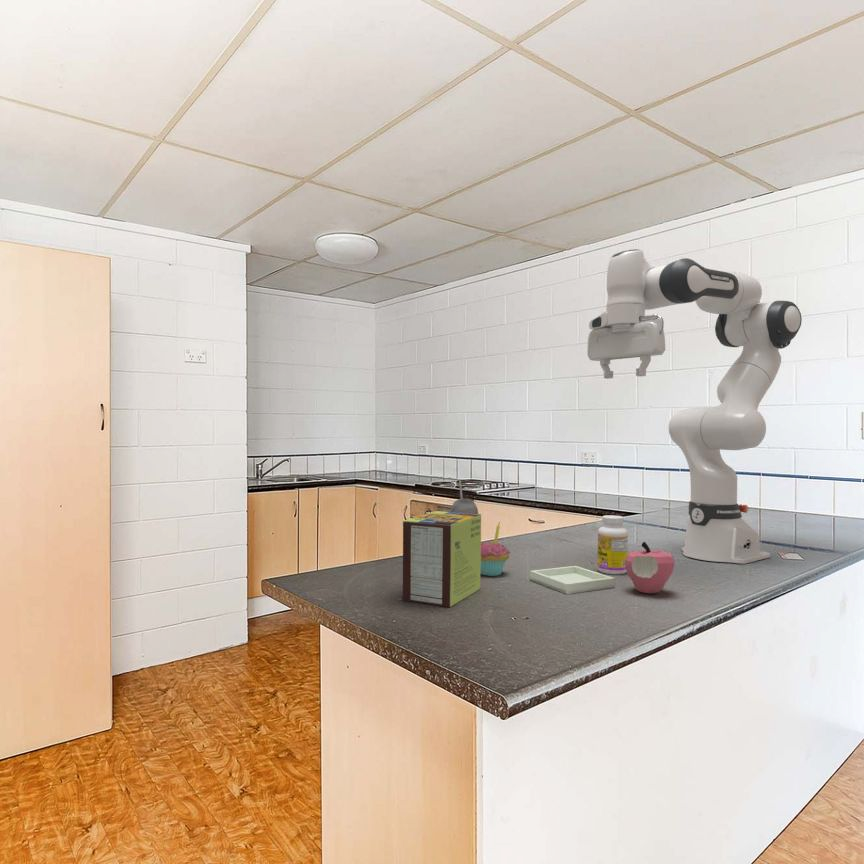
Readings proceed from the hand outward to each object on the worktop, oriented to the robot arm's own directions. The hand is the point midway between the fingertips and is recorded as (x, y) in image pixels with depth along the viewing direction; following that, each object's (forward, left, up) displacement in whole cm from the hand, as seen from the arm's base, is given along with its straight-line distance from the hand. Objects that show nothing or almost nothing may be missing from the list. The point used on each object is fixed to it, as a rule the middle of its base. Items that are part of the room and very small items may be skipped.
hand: (624, 377), depth 150 cm
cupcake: (+32, -8, -46) cm, 56 cm away
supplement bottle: (+5, +2, -46) cm, 46 cm away
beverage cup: (+31, -22, -46) cm, 59 cm away
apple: (+10, +19, -46) cm, 51 cm away
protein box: (+50, +3, -46) cm, 68 cm away
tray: (+21, +7, -45) cm, 50 cm away
